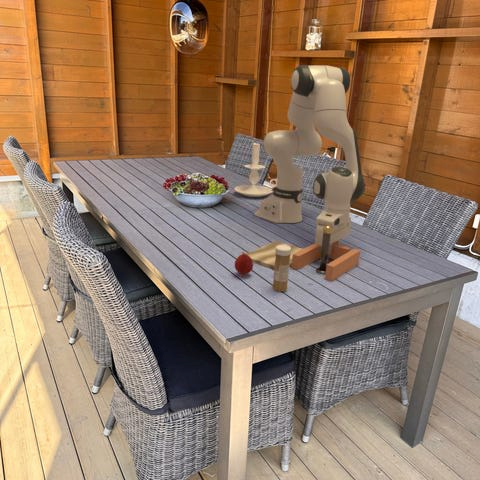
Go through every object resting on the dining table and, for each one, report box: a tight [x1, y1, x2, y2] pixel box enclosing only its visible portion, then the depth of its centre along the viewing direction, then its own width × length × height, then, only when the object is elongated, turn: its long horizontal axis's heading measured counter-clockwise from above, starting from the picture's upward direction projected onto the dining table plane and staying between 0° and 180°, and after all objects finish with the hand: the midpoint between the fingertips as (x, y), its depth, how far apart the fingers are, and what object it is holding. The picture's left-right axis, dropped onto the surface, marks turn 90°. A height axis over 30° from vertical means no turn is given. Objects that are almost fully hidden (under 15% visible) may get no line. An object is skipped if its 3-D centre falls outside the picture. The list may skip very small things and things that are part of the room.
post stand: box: [315, 225, 332, 275], centre depth 149 cm, size 4×4×16 cm
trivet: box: [246, 240, 303, 270], centre depth 162 cm, size 16×21×1 cm
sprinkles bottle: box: [272, 245, 291, 292], centre depth 135 cm, size 5×5×13 cm
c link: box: [290, 243, 361, 282], centre depth 155 cm, size 20×15×5 cm
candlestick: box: [234, 142, 277, 198], centre depth 240 cm, size 21×25×28 cm
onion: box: [234, 251, 254, 277], centre depth 144 cm, size 6×6×8 cm
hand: (331, 252), depth 163 cm, fingers closed on c link, 2 cm apart
